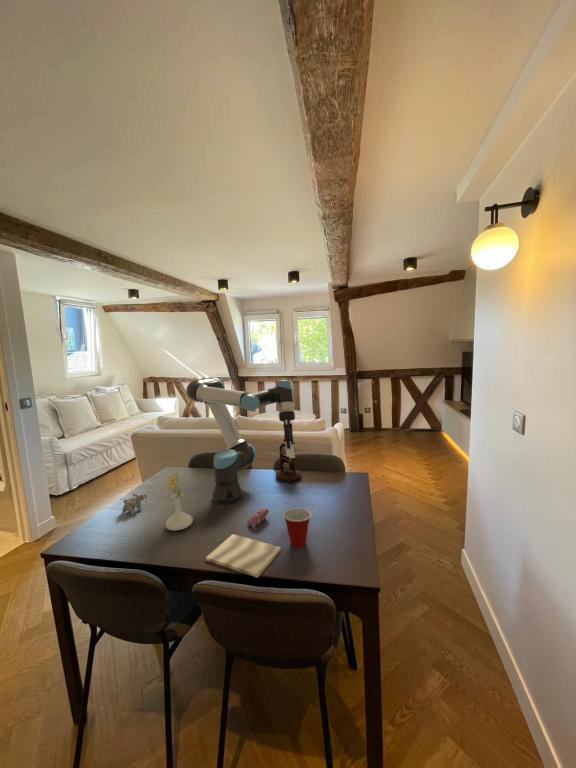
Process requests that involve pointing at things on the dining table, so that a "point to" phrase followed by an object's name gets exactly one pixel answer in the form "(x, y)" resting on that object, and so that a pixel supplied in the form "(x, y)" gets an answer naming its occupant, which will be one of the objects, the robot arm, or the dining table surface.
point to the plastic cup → (297, 525)
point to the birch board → (244, 555)
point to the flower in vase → (177, 507)
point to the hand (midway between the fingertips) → (290, 457)
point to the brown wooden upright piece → (287, 467)
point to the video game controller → (258, 516)
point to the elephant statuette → (133, 503)
